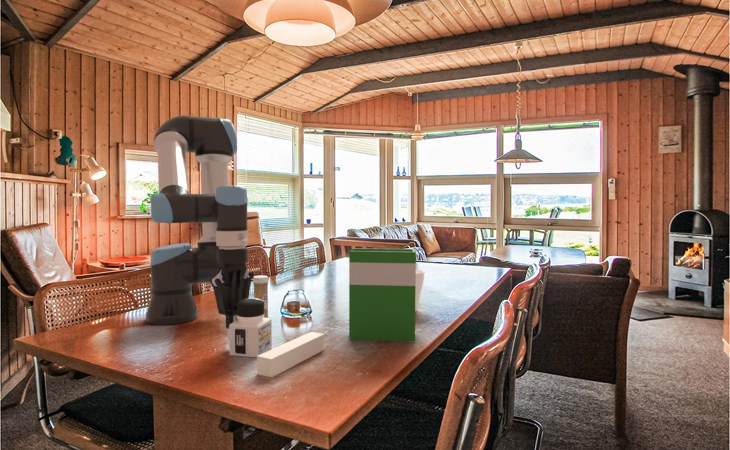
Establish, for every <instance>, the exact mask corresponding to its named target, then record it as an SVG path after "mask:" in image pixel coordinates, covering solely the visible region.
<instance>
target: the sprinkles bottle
mask: <svg viewBox="0 0 730 450" xmlns="http://www.w3.org/2000/svg"><path fill="white" fill-rule="evenodd" d="M252 281H253V298H257V299H261V300H263V301H264V318H269V295H268V289H269V288H268V284H269V276H267V275H254V276H253V278H252Z"/></svg>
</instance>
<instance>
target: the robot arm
mask: <svg viewBox="0 0 730 450" xmlns="http://www.w3.org/2000/svg"><path fill="white" fill-rule="evenodd" d="M153 147H154V150H155V152H156V153H157V175H158V177H157V178H158V193H153V194H151V195H150V216H151V217H150V218H151V221H152V222H153V223H157V224H158V223H159V224H168V225H169V224H191V223H192V224H193V223H201V227H202V228H201V229H202V232H201V233H202V237H200V239H198V241H197V247H192V245H191V243H189V242H188V243H187V242H186V243H175V244H174V243H173V244H167V245H164V246H159V247H156V248H154V249H153V250H152V251H151V253H150V263H149V266H150V277H151V278H150V280H151V282H150V284H151V285H150V289H151V290H150V292H151V297H150V300H149V303H148V307H147V311H146V312H145V322H146V323H148V324H149V325H157V326H160V325H162V326H163V325H164V326H167V325H169V326H170V325H178V324H183V323H187V322H191V321H194V320H196V319H197V318H198V317H199V308H198V307H197V304H196V302H195V298H194V295H193V292H192V285H199V284H200V285H201V284H211V286H212V289H213V293H214V299H215V301H216V306H217V311H218V314H219V315H223V316H225V328H226V329H227V331H226V332H227V336H226V339H227V341H229V325H230V324H231V323H233V322H235V321H237V320H239V319H237V303H238V302H239V301H241V300H243V299H248V298H249V297H250V291H251V284H252V281H253V277H254V276H255V273H254V272H252V271H249V270H248V267H247V264H246V263H248V261H249V250H248V248H247V247H246V246H248V239H249V238H248V201H249V198H248V189H247V187H245V186H244V185H243V186H242V185H229V163H230V162H231V161H232V160H233V155H236V154H237V152H238V138H237V133H236V129H235V125H234V124H233V122H232V121H231V120H230V119H228V118H221V117H220V118H219V117H211V116H210V117H207V116H194V115H192V116H191V115H177V116H174V117H171V118H169V119H168V120H166V121H164V122H163V123H162V124H161V125H160V126H159V127H158V129H157V130H156V132H155V133H154V137H153ZM186 153H193V154H195V155H194V157H195V160H196V161H198V163H199V164H200V185H201V187H200V189H201V192H200V193H190V190H189V189H190V188H189V180H188V169H187V161H186V158H187V157H186Z"/></svg>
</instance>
